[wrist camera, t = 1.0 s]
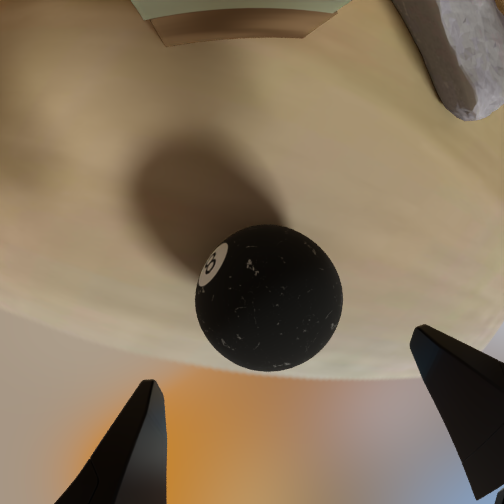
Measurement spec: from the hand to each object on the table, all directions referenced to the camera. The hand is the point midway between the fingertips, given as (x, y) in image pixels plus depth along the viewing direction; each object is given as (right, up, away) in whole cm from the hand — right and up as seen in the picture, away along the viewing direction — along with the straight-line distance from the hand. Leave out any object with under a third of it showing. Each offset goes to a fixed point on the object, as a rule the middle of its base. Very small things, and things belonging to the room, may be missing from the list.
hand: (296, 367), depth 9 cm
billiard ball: (-1, +3, +6) cm, 7 cm away
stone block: (+11, +18, +1) cm, 21 cm away
